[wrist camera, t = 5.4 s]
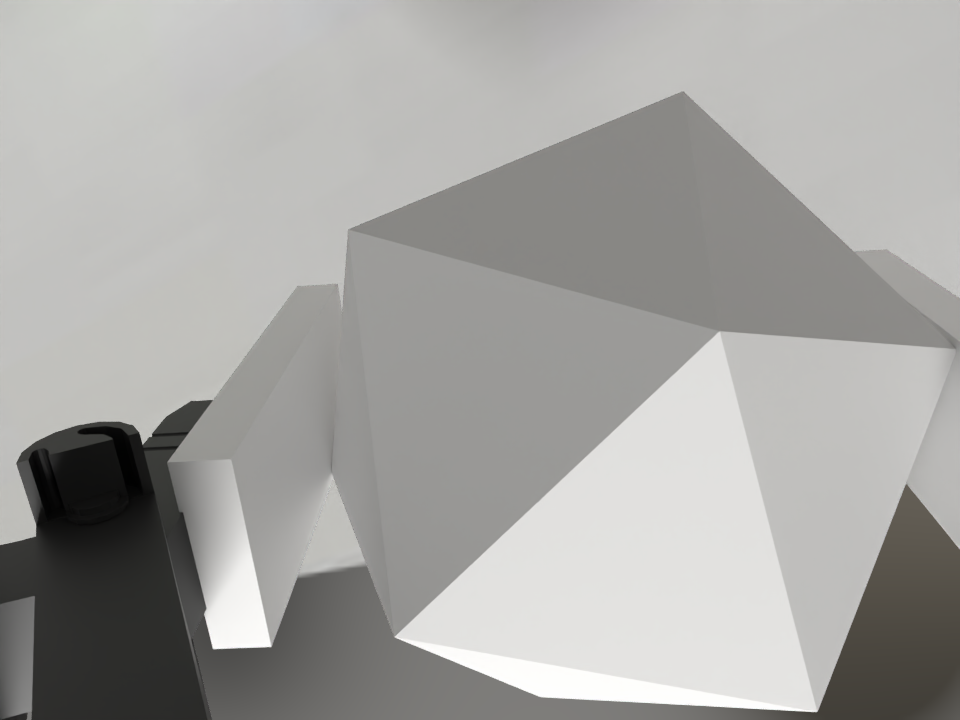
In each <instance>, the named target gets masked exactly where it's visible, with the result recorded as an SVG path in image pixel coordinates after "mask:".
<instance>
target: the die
mask: <svg viewBox="0 0 960 720" xmlns="http://www.w3.org/2000/svg"><path fill="white" fill-rule="evenodd" d="M955 355H956V348H955V346H954V345H953V344H952V343H951V342H949V341H948V340H947V339H946V338H945V337H944V336H943V335H942V334H941V333H940V332H939V331H938V330H937V329H936V328H935V327H933V326H932V325H931V324H930V323H929V322H928V321H927V320H926V319H925V318H924V317H923V316H922V315H921V314H920V313H919V312H918V311H916V310H915V309H914V308H913V307H912V306H911V305H910V304H909V303H908V302H907V301H906V300H905V299H904V298H903V297H902V296H900V295H899V294H898V293H897V292H896V291H895V290H894V289H893V288H892V287H891V286H890V285H889V284H888V283H887V282H886V281H885V280H883V279H882V278H881V277H880V276H879V275H878V274H877V273H876V272H875V271H874V270H873V269H872V268H871V267H870V266H869V265H867V264H866V263H865V262H864V261H863V260H862V259H861V258H860V257H859V256H858V255H857V254H856V253H855V252H854V251H853V250H852V249H850V248H849V247H848V246H847V245H846V244H845V243H844V242H843V241H842V240H841V239H840V238H839V237H838V236H837V235H836V234H834V233H833V232H832V231H831V230H830V229H829V228H828V227H827V226H826V225H825V224H824V223H823V222H822V221H821V220H820V219H819V218H817V217H816V216H815V215H814V214H813V213H812V212H811V211H810V210H809V209H808V208H807V207H806V206H805V205H804V204H803V203H801V202H800V201H799V200H798V199H797V198H796V197H795V196H794V195H793V194H792V193H791V192H790V191H789V190H788V189H787V188H786V187H784V186H783V185H782V184H781V183H780V182H779V181H778V180H777V179H776V178H775V177H774V176H773V175H772V174H771V173H770V172H768V171H767V170H766V169H765V168H764V167H763V166H762V165H761V164H760V163H759V162H758V161H757V160H756V159H755V158H754V157H752V156H751V155H750V154H749V153H748V152H747V151H746V150H745V149H744V148H743V147H742V146H741V145H740V144H739V143H738V142H737V141H735V140H734V139H733V138H732V137H731V136H730V135H729V134H728V133H727V132H726V131H725V130H724V129H723V128H722V127H721V126H719V125H718V124H717V123H716V122H715V121H714V120H713V119H712V118H711V117H710V116H709V115H708V114H707V113H706V112H705V111H704V110H702V109H701V108H700V107H699V106H698V105H697V104H696V103H695V102H694V101H693V100H692V99H691V98H690V97H689V96H688V95H686V94H685V93H684V92H680V93H678V94H675V95H673V96H671V97H668V98H666V99H663V100H661V101H658V102H656V103H654V104H651V105H649V106H646V107H644V108H641V109H639V110H637V111H634V112H632V113H629V114H627V115H624V116H622V117H620V118H617V119H615V120H612V121H610V122H608V123H605V124H603V125H600V126H598V127H595V128H593V129H591V130H588V131H586V132H583V133H581V134H578V135H576V136H574V137H571V138H569V139H566V140H564V141H562V142H559V143H557V144H554V145H552V146H549V147H547V148H545V149H542V150H540V151H537V152H535V153H532V154H530V155H528V156H525V157H523V158H520V159H518V160H515V161H513V162H511V163H508V164H506V165H503V166H501V167H499V168H496V169H494V170H491V171H489V172H486V173H484V174H482V175H479V176H477V177H474V178H472V179H469V180H467V181H465V182H462V183H460V184H457V185H455V186H452V187H450V188H448V189H445V190H443V191H440V192H438V193H436V194H433V195H431V196H428V197H426V198H423V199H421V200H419V201H416V202H414V203H411V204H409V205H406V206H404V207H402V208H399V209H397V210H394V211H392V212H389V213H387V214H385V215H382V216H380V217H377V218H375V219H373V220H370V221H368V222H365V223H363V224H360V225H358V226H356V227H353V228H351V229H348V239H347V253H346V267H345V281H344V295H343V309H342V323H341V337H340V352H339V366H338V380H337V394H336V408H335V422H334V436H333V450H332V465H331V469H332V475H333V478H334V480H335V483H336V485H337V488H338V491H339V493H340V496H341V499H342V501H343V504H344V506H345V509H346V512H347V514H348V517H349V520H350V522H351V525H352V527H353V530H354V533H355V535H356V538H357V541H358V543H359V546H360V548H361V551H362V554H363V556H364V559H365V562H366V564H367V567H368V569H369V572H370V575H371V577H372V580H373V582H374V585H375V588H376V590H377V593H378V596H379V598H380V600H381V603H382V606H383V609H384V611H385V613H386V617H387V619H388V622H389V624H390V627H391V630H392V632H393V635H394V637H395V638H398V639H400V640H403V641H405V642H407V643H410V644H412V645H415V646H417V647H420V648H422V649H425V650H427V651H430V652H432V653H434V654H437V655H439V656H442V657H444V658H446V659H449V660H452V661H454V662H456V663H459V664H461V665H464V666H466V667H468V668H471V669H474V670H476V671H478V672H481V673H483V674H486V675H488V676H491V677H493V678H495V679H498V680H500V681H503V682H505V683H507V684H510V685H512V686H515V687H517V688H520V689H522V690H525V691H527V692H530V693H532V694H534V695H537V696H539V697H550V698H569V699H588V700H606V701H624V702H644V703H661V704H680V705H698V706H716V707H717V706H718V707H735V708H754V709H771V710H790V711H809V712H818V709H819V706H820V704H821V701H822V698H823V696H824V693H825V690H826V688H827V686H828V683H829V680H830V678H831V675H832V673H833V670H834V667H835V665H836V662H837V660H838V657H839V655H840V652H841V649H842V647H843V644H844V642H845V639H846V637H847V634H848V631H849V629H850V626H851V624H852V621H853V618H854V616H855V613H856V611H857V608H858V606H859V603H860V600H861V598H862V595H863V593H864V590H865V588H866V585H867V582H868V580H869V577H870V575H871V572H872V569H873V566H874V564H875V562H876V559H877V556H878V554H879V551H880V549H881V546H882V543H883V541H884V538H885V536H886V533H887V531H888V528H889V525H890V523H891V520H892V518H893V515H894V513H895V510H896V507H897V505H898V502H899V500H900V497H901V494H902V492H903V489H904V487H905V484H906V482H907V479H908V476H909V474H910V471H911V469H912V466H913V464H914V461H915V458H916V456H917V453H918V451H919V448H920V445H921V443H922V440H923V438H924V435H925V433H926V430H927V427H928V425H929V422H930V420H931V417H932V414H933V412H934V409H935V407H936V404H937V402H938V399H939V396H940V394H941V391H942V389H943V386H944V383H945V381H946V378H947V376H948V373H949V371H950V368H951V365H952V363H953V360H954V358H955Z"/></svg>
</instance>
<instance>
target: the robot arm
mask: <svg viewBox="0 0 960 720" xmlns="http://www.w3.org/2000/svg"><path fill="white" fill-rule="evenodd" d="M854 252H855V253H856V254H857V255H858V256H859V257H860V258H861V259H862V260H863V261H864V262H865V263H866V264H867V265H869V266H870V267H871V268H872V269H873V270H874V271H875V272H876V273H877V274H878V275H879V276H880V277H881V278H882V279H883V280H885V281H886V282H887V283H888V284H889V285H890V286H891V287H892V288H893V289H894V290H895V291H896V292H897V293H898V294H899V295H900V296H902V297H903V298H904V299H905V300H906V301H907V302H908V303H909V304H910V305H911V306H912V307H913V308H914V309H915V310H916V311H918V312H919V313H920V314H921V315H922V316H923V317H924V318H925V319H926V320H927V321H928V322H929V323H930V324H931V325H932V326H933V327H935V328H936V329H937V330H938V331H939V332H940V333H941V334H942V335H943V336H944V337H945V338H946V339H947V340H948V341H949V342H951V343H952V344H953V345H954V346H955V348H956V355H955V358H954V360H953V363H952V365H951V368H950V371H949V373H948V376H947V378H946V381H945V383H944V386H943V389H942V391H941V394H940V396H939V399H938V402H937V404H936V407H935V409H934V412H933V414H932V417H931V420H930V422H929V425H928V427H927V430H926V433H925V435H924V438H923V440H922V443H921V445H920V448H919V451H918V453H917V456H916V458H915V461H914V464H913V466H912V469H911V471H910V474H909V476H908V479H907V482H906V484H907V485H908V486H909V487H910V488H911V490H912V491H913V492H914V493H915V495H916V496H917V497H918V498H919V499H920V501H921V502H922V503H923V504H924V506H925V507H926V508H927V509H928V510H929V512H930V513H931V514H932V516H933V517H934V518H935V519H936V520H937V522H938V523H939V524H940V525H941V527H942V528H943V529H944V530H945V531H946V533H947V534H948V535H949V536H950V538H951V539H952V540H953V541H954V543H955V544H956V545H957V546H958V548H959V549H960V298H958V297H957V296H955V295H954V294H952V293H951V292H949V291H948V290H946V289H945V288H943V287H942V286H940V285H939V284H937V283H936V282H934V281H933V280H931V279H930V278H928V277H927V276H925V275H924V274H922V273H921V272H920V271H918V270H917V269H915V268H914V267H912V266H911V265H909V264H908V263H906V262H905V261H903V260H902V259H900V258H899V257H897V256H896V255H894V254H893V253H891V252H890V251H888V250H887V249H886V250H870V251H854ZM341 323H342V311H341V304H340V297H339V290H338V284H327V285H312V286H297V288H296V289H295V290H294V292H293V293H292V294H291V296H290V297H289V298H288V300H287V301H286V302H285V304H284V305H283V307H282V308H281V309H280V311H279V312H278V313H277V315H276V316H275V317H274V319H273V320H272V321H271V323H270V324H269V325H268V327H267V328H266V329H265V331H264V332H263V334H262V335H261V336H260V338H259V339H258V340H257V342H256V343H255V344H254V346H253V347H252V348H251V350H250V351H249V352H248V354H247V355H246V356H245V358H244V359H243V361H242V362H241V363H240V365H239V366H238V367H237V369H236V370H235V371H234V373H233V374H232V375H231V377H230V378H229V379H228V381H227V382H226V383H225V385H224V386H223V388H222V389H221V390H220V392H219V393H218V394H217V396H216V397H215V398H214V400H207V401H191V402H189V403H188V404H186V405H184V406H183V407H181V408H180V409H178V410H176V411H175V412H173V413H172V414H170V415H168V416H167V417H166V418H165V419H164V420H163V421H162V422H161V424H160V425H159V426H158V427H157V429H156V430H155V431H154V432H153V433H152V437H149V438H148V440H147V441H146V442H145V443H144V444H143V445H142V441H141V438H140V434H139V432H138V431H137V430H136V428H135V427H134V426H133V425H129V424H125V423H122V422H96V423H90V424H84V425H78V426H75V427H71V428H68V429H65V430H62V431H58V432H55V433H53V434H51V435H49V436H47V437H45V438H43V439H41V440H39V441H37V442H35V443H34V444H32V445H31V446H30V447H28V448H27V449H26V450H25V451H23V452H22V453H21V455H20V457H19V459H18V461H17V463H16V464H17V467H18V470H19V473H20V476H21V479H22V482H23V485H24V488H25V491H26V494H27V498H28V501H29V504H30V507H31V510H32V513H33V516H34V519H35V522H36V537H33V538H29V539H26V540H22V541H18V542H13V543H9V544H4V545H0V720H26V719H27V714H28V712H31V711H32V720H212V717H211V713H210V709H209V705H208V700H207V696H206V692H205V688H204V684H203V680H202V675H201V671H200V667H199V663H198V659H197V655H196V651H195V647H194V644H193V639H192V637H193V635H194V633H195V631H196V629H197V627H198V625H199V623H200V621H201V619H202V617H203V615H204V614H205V618H206V622H207V626H208V630H209V634H210V638H211V642H212V646H213V649H225V648H251V647H271V646H272V644H273V641H274V638H275V636H276V633H277V630H278V627H279V625H280V622H281V619H282V617H283V614H284V611H285V609H286V606H287V603H288V600H289V598H290V595H291V592H292V590H293V587H294V584H295V582H296V579H297V576H298V573H299V571H300V568H301V565H302V563H303V560H304V557H305V554H306V552H307V549H308V546H309V544H310V541H311V538H312V536H313V533H314V530H315V527H316V525H317V522H318V519H319V517H320V514H321V511H322V508H323V506H324V503H325V500H326V498H327V495H328V492H329V489H330V487H331V484H332V481H333V479H334V478H333V475H332V469H331V465H332V450H333V436H334V422H335V408H336V394H337V380H338V366H339V352H340V337H341Z"/></svg>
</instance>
